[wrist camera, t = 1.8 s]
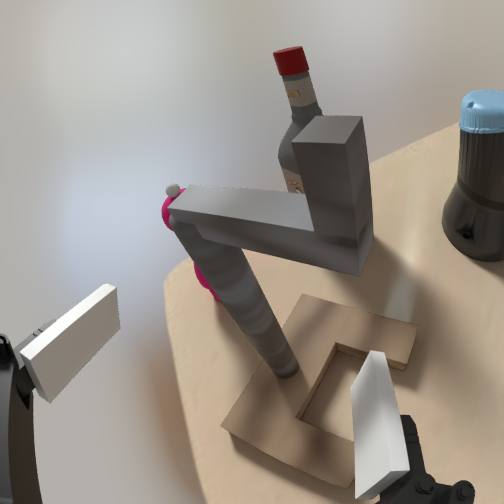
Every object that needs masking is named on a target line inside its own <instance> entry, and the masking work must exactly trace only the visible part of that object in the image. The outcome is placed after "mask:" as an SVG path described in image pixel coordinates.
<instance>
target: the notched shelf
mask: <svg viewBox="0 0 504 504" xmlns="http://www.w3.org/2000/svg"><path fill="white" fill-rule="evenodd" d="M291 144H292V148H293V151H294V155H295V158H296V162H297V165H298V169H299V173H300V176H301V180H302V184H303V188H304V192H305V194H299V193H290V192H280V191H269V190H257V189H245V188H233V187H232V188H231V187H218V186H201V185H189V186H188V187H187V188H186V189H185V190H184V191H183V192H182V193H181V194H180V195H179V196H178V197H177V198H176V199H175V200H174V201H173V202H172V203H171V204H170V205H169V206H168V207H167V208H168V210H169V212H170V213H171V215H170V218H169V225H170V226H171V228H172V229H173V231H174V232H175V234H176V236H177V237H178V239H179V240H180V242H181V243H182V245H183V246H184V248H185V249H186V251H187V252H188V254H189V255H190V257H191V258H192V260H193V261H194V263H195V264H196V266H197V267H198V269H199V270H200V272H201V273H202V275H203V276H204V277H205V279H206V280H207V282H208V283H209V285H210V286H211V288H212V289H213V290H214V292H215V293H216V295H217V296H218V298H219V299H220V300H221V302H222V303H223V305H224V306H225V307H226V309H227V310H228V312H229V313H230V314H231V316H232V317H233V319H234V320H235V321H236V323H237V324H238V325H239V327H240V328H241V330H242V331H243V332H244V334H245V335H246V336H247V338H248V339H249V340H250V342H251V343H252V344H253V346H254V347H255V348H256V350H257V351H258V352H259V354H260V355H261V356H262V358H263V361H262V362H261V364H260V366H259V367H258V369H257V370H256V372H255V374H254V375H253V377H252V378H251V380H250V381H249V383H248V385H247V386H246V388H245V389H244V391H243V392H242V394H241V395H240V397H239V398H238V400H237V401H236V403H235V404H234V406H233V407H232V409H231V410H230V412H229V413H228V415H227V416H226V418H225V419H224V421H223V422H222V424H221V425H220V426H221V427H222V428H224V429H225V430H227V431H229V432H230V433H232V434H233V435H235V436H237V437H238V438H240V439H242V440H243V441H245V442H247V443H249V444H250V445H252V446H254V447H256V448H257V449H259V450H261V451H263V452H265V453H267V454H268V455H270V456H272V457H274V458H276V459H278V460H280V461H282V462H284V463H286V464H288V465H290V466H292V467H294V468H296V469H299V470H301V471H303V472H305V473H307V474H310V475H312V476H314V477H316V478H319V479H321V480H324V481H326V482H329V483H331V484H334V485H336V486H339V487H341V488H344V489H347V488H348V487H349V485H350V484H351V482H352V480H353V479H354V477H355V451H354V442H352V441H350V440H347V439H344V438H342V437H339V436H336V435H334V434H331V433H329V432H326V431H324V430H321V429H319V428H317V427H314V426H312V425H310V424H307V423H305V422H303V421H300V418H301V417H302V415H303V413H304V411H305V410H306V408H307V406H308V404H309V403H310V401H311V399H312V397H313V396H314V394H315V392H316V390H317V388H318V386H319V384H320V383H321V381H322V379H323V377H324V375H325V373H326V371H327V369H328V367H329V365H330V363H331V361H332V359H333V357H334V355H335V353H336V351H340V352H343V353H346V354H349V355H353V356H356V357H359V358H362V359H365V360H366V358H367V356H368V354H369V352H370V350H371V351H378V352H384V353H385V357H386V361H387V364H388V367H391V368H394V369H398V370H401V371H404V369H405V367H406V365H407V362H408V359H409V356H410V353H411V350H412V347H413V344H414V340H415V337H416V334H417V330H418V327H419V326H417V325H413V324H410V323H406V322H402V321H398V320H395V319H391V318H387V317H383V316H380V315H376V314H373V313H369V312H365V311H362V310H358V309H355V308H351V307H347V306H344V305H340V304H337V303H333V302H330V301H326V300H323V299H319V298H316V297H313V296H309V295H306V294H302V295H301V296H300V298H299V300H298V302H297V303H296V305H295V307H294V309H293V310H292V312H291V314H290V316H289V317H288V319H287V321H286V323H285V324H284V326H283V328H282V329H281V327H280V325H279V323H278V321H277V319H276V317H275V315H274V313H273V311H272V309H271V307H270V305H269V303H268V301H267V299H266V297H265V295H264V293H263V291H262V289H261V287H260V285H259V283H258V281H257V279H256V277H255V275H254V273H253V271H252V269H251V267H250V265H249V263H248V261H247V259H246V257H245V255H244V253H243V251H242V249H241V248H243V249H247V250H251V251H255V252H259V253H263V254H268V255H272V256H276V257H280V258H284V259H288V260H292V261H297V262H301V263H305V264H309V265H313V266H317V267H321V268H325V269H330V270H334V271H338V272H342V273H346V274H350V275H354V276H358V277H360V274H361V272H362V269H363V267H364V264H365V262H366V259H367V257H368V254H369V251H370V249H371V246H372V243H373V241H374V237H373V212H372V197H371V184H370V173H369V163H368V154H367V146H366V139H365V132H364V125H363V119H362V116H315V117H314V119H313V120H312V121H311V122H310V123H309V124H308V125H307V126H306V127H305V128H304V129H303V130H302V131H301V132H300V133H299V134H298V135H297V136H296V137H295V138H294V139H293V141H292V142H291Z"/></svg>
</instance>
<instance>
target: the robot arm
mask: <svg viewBox="0 0 504 504" xmlns="http://www.w3.org/2000/svg"><path fill="white" fill-rule="evenodd" d="M459 126H460V151H459V166H458V176H457V182H456V183H455V185H454V187H453V189H452V191H451V193H450V195H449V197H448V199H447V201H446V203H445V205H444V209H443V216H442V226H443V229H444V232H445V234H446V236H447V237H448V239H449V240H450V241H451V243H452V244H453V245H454V246H455V247H456V248H458V249H459V250H460V251H461V252H463V253H464V254H466V255H468V256H470V257H472V258H475V259H478V260H481V261H488V262H494V261H500V260H503V259H504V91H499V90H477V91H473V92H470V93H468V94H467V95H466V96H465V97H464V98H463V100H462V104H461V120H460V122H459ZM119 329H120V320H119V311H118V301H117V288H116V287H114V286H111V285H108V284H106V283H105V284H104V285H103V286H101V287H100V288H99V289H97V290H96V291H95V292H93V293H92V294H91V295H90V296H88V297H87V298H86V299H84V300H83V301H82V302H80V303H79V304H78V305H76V306H75V307H74V308H72V309H71V310H70V311H69V312H67V313H66V314H65V315H64V316H62V317H61V318H60V319H59V320H57V321H56V320H52V321H49V322H47V323H45V324H43V325H42V326H41V327H40V328H38V330H36V331H35V332H33V334H31V335H30V336H29V337H27V338H26V339H25V340H24V341H22V342H21V343H20V344H19V345H18V346H16V347H15V348H14V349H12V346H11V344H10V341H9V339H8V337H7V336H6V335H4V334H0V504H42V498H41V493H40V487H39V481H38V474H37V466H36V457H35V446H34V430H33V429H34V428H33V392H32V390H33V389H34V388H36V390H37V392H38V394H39V396H41V397H42V398H43V399H45V400H46V401H47V402H49V403H51V402H52V401H53V400H54V399H55V398H56V397H57V395H58V394H59V393H60V392H61V391H62V390H63V389H64V388H65V387H66V385H67V384H68V383H69V382H70V381H71V380H72V379H73V378H74V377H75V376H76V375H77V373H78V372H79V371H80V370H81V369H82V368H83V367H84V366H85V365H86V364H87V363H88V362H89V361H90V360H91V358H92V357H93V356H94V355H95V354H96V353H97V352H98V351H99V350H100V349H101V348H102V347H103V346H104V345H105V344H106V343H107V342H108V341H109V339H110V338H112V336H114V334H115V333H116V332H117V331H118V330H119ZM350 390H351V402H352V415H353V430H354V451H355V499H373V498H374V497H376V496H377V495H378V494H380V501H378V502H377V503H375V504H473V502H474V497H475V490H474V487H473V485H472V484H471V483H470V482H468V481H465V480H461V481H459V482H457V483H456V484H454V485H453V486H450V485H444V484H439V483H436V481H435V479H434V478H433V477H432V476H431V475H430V474H427V473H426V471H425V466H424V461H423V456H422V451H421V446H420V443H419V437H418V436H417V434H418V432H417V428H416V424H415V422H414V421H413V419H412V418H411V417H410V415H400V413H399V409H398V404H397V400H396V396H395V391H394V387H393V383H392V379H391V376H390V372H389V368H388V364H387V361H386V357H385V353H384V352H378V351H371V350H370V352H369V354H368V356H367V358H366V360H365V362H364V364H363V366H362V368H361V370H360V372H359V374H358V376H357V377H356V379H355V381H354V383H353V385H352V386H351V388H350Z"/></svg>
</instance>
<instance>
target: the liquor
mask: <svg viewBox="0 0 504 504" xmlns="http://www.w3.org/2000/svg"><path fill="white" fill-rule="evenodd" d="M273 56H274V59H275V62H276V64H277V68H278V71H279V74H280V75H281V76H282V78H283V82H284V85H285V88H286V92H287V95H288V99H289V102H290V106H291V109H292V120H293V121H292V123H291V125H290V126H289V128H288V130H287V132H286V133H285V135H284V137H283V139H282V140H281V143H280V147H279V153H278V158H279V162H280V165H281V168H282V171H283V175H284V178H285V181H286V184H287V188H288V191H289V192H290V193H299V194H305V192H304V188H303V184H302V180H301V176H300V173H299V169H298V165H297V162H296V158H295V155H294V151H293V148H292V144H291V142H292V141H293V139H294V138H295V137H296V136H297V135H298V134H299V133H300V132H301V131H302V130H303V129H304V128H305V127H306V126H307V125H308V124H309V123H310V122H311V121H312V120H313V119H314V117H315V116H324V115H322V110H321V109H320V108H319V106H318V103H317V99H316V96H315V92H314V89H313V85H312V82H311V78H310V75H309V72H308V70H309V67H308V64H307V60H306V57H305V54H304V51H303V48H302V46H299V47H292V48H287V49H283V50H279V51H276V52H274V53H273Z"/></svg>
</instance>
